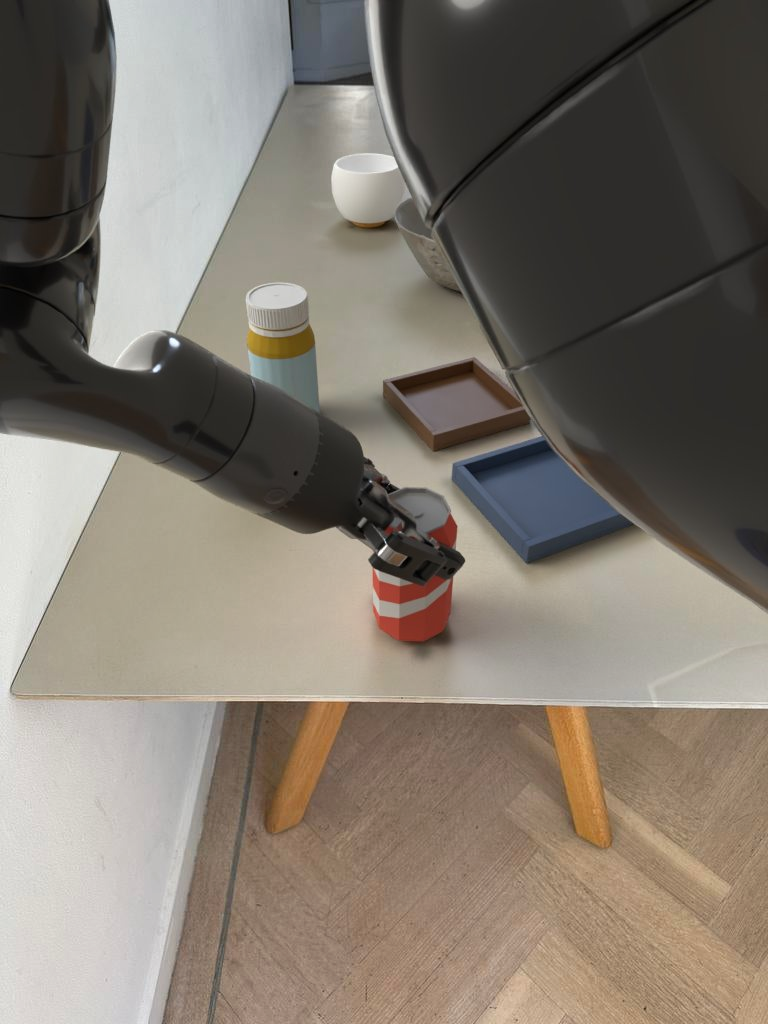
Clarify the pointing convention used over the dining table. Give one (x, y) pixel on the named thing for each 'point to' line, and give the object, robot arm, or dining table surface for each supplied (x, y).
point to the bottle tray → (455, 403)
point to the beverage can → (405, 603)
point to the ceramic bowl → (423, 244)
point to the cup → (367, 188)
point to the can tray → (535, 499)
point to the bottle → (283, 340)
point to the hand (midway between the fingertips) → (432, 538)
